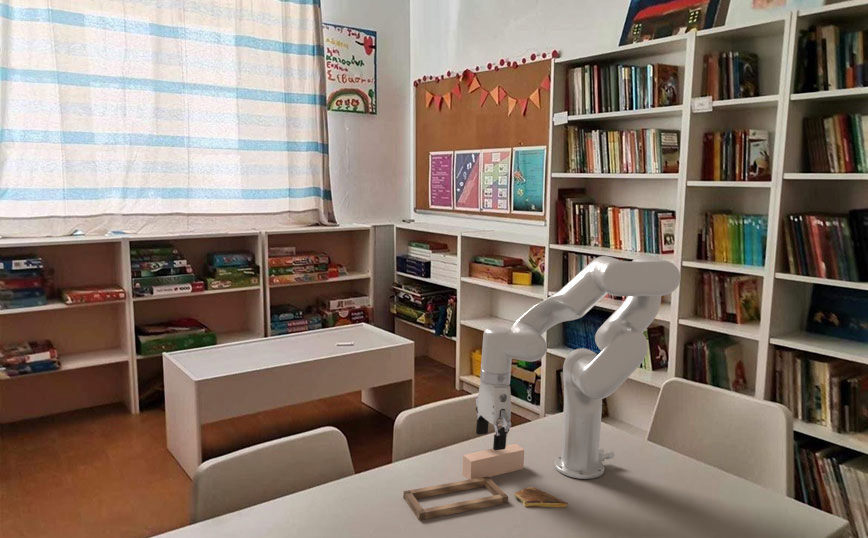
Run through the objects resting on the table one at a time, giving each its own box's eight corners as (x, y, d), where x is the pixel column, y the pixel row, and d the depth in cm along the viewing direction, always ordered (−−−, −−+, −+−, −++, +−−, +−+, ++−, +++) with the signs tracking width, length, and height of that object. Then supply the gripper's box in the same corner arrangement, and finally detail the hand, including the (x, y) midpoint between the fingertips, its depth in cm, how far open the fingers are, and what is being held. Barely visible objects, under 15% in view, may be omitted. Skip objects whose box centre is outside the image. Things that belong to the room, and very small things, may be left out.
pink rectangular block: (514, 463, 169) (515, 443, 169) (523, 469, 166) (524, 449, 165) (462, 475, 162) (463, 455, 161) (470, 482, 158) (471, 461, 158)
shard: (568, 509, 147) (568, 501, 147) (547, 520, 142) (547, 513, 142) (531, 491, 155) (531, 484, 155) (510, 501, 150) (510, 494, 150)
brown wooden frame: (487, 482, 158) (487, 476, 158) (507, 502, 148) (508, 496, 148) (403, 497, 150) (403, 491, 150) (419, 520, 140) (419, 513, 140)
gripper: (525, 386, 154) (520, 454, 156) (492, 365, 169) (488, 427, 172) (497, 389, 151) (492, 457, 153) (467, 367, 167) (462, 429, 169)
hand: (490, 441), depth 163 cm, fingers open, 9 cm apart
